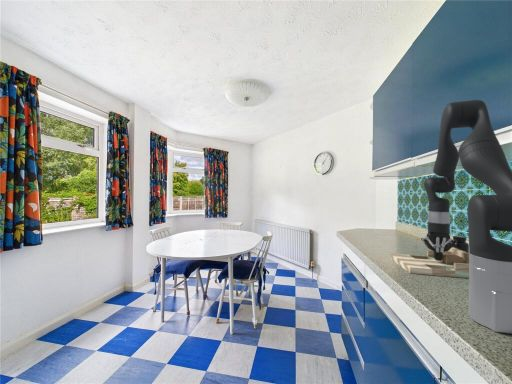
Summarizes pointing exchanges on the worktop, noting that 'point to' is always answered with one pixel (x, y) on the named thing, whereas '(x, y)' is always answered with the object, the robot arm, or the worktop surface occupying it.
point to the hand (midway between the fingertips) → (437, 260)
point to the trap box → (434, 264)
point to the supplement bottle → (461, 243)
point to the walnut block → (451, 259)
